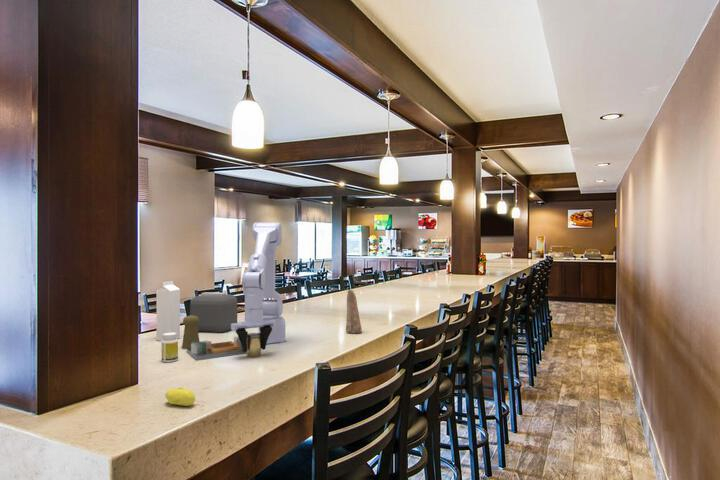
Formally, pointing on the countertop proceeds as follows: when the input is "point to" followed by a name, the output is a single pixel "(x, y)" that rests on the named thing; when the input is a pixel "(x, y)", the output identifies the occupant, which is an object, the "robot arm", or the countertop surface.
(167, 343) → the supplement bottle
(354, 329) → the brown tapered stone
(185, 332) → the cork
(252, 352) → the tan and grey cylinder
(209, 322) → the dark grey rounded block
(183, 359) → the countertop surface
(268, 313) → the robot arm
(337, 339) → the countertop surface
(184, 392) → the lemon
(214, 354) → the bench plate
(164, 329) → the milk
